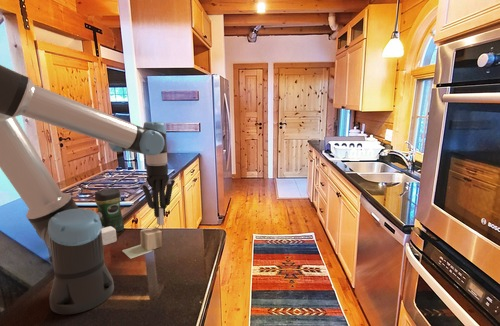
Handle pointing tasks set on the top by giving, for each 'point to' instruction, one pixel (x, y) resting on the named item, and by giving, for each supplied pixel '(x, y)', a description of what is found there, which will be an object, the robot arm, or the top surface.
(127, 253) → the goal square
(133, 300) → the top surface
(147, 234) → the maple block
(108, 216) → the coffee jar
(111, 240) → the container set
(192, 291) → the top surface
